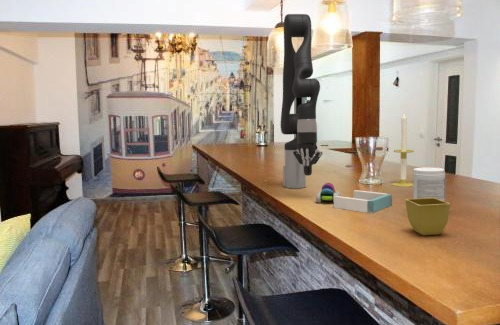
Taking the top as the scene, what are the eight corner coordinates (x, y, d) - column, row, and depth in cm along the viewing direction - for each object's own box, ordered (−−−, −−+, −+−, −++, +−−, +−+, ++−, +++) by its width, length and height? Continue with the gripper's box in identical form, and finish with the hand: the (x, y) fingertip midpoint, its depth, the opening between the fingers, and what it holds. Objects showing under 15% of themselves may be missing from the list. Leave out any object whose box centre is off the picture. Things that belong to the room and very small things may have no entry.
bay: (333, 207, 153) (333, 196, 152) (355, 200, 164) (355, 190, 163) (371, 213, 143) (371, 201, 142) (391, 205, 154) (391, 194, 153)
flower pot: (404, 229, 123) (404, 198, 122) (433, 227, 124) (434, 197, 123) (418, 238, 114) (419, 205, 113) (450, 236, 115) (451, 203, 114)
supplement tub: (451, 215, 137) (452, 169, 135) (424, 218, 135) (425, 171, 133) (431, 209, 146) (432, 166, 144) (406, 211, 144) (407, 168, 142)
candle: (390, 186, 191) (391, 112, 187) (392, 182, 200) (392, 112, 196) (414, 187, 187) (416, 111, 183) (415, 183, 196) (416, 111, 192)
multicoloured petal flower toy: (341, 199, 166) (341, 181, 165) (337, 205, 157) (337, 185, 156) (319, 199, 169) (319, 180, 168) (314, 204, 160) (314, 185, 159)
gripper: (287, 131, 169) (288, 175, 170) (315, 131, 159) (316, 177, 161) (299, 130, 174) (300, 173, 176) (326, 130, 165) (327, 175, 167)
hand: (308, 175), depth 168 cm, fingers closed
